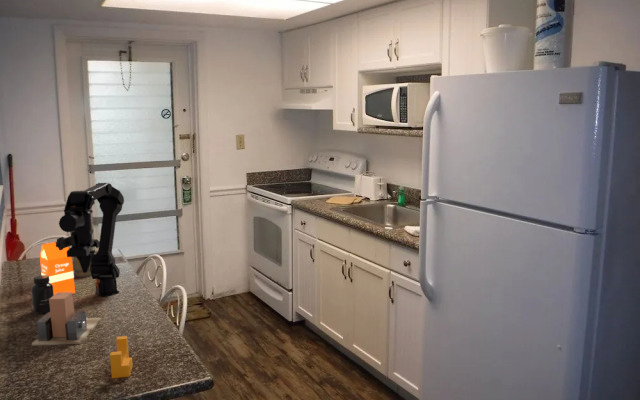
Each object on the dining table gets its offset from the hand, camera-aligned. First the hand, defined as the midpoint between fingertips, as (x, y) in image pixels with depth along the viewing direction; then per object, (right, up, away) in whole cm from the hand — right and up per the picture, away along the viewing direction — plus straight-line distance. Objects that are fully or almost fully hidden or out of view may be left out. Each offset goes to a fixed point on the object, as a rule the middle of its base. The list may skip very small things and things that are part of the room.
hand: (85, 272), depth 192 cm
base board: (+2, -16, -17) cm, 23 cm away
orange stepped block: (+28, -20, -42) cm, 55 cm away
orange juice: (-18, -11, +19) cm, 28 cm away
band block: (+3, -16, -22) cm, 27 cm away
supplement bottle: (-15, -14, +1) cm, 20 cm away
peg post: (+3, -16, -21) cm, 27 cm away
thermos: (-18, -7, +43) cm, 47 cm away
